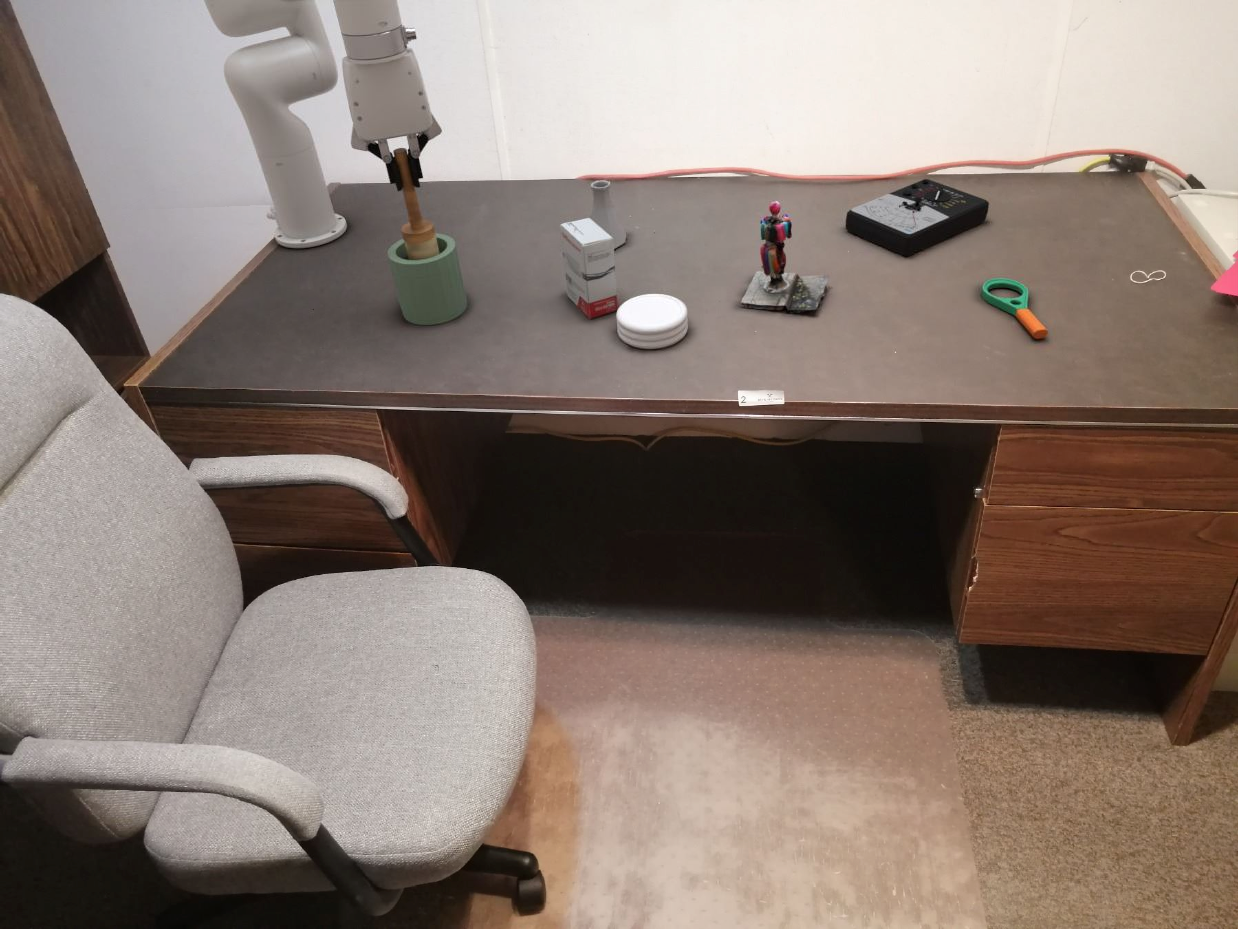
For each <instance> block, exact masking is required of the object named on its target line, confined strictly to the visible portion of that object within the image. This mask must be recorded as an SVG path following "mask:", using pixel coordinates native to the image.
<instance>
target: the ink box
mask: <svg viewBox="0 0 1238 929" xmlns="http://www.w3.org/2000/svg"><path fill="white" fill-rule="evenodd" d="M590 218H591V217H586V218H581V219H577V220H574V221H567V222H563V223H561V224H560V225H559V231H560V239H561V248H562V249H561V250H562V258H563V267H564V278H565V279H564V280H565V285H566V286H565V287H566V289H565V290H566V296H567V297H568V298H569V300H571V301H572V302H573V303H574V304H575V306H576V307H578V309H579V310H580V311H581V312H582V313H583V315H585V316H586V317H587V318H588V319H594V318H597V317H601V316H605V315H608V314H611V313H614V312H617V310H618V309H619V307H618V292H617V280H616V279H617V278H616V277H617V276H616V261H615V260H616V259H615V249H614V242H613V238H612V237H611V236H610V235H609V234H608V233H606V232H605V231H604V230H603V229H602V228H601V227H599V226H598V225H597V224H596V223H595V222H593V221H592V220H591V219H590Z"/></svg>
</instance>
